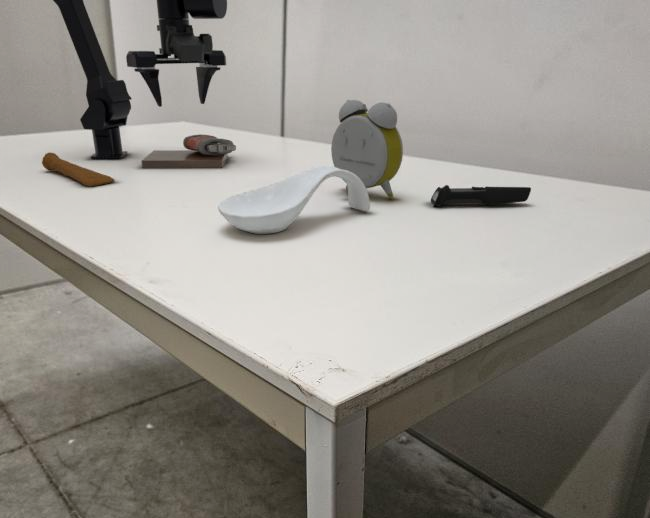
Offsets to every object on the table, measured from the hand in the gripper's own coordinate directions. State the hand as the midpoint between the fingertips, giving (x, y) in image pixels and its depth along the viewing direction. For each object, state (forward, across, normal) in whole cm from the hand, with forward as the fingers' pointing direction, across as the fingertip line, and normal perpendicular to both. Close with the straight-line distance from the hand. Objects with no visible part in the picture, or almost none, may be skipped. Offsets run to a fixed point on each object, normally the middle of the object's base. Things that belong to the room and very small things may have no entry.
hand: (181, 105), depth 125 cm
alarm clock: (+12, +12, -44) cm, 47 cm away
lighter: (+8, +5, +4) cm, 10 cm away
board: (+12, 0, 0) cm, 12 cm away
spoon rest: (+12, -6, -51) cm, 53 cm away
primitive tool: (+12, -23, -2) cm, 26 cm away
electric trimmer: (+12, +24, -59) cm, 65 cm away
